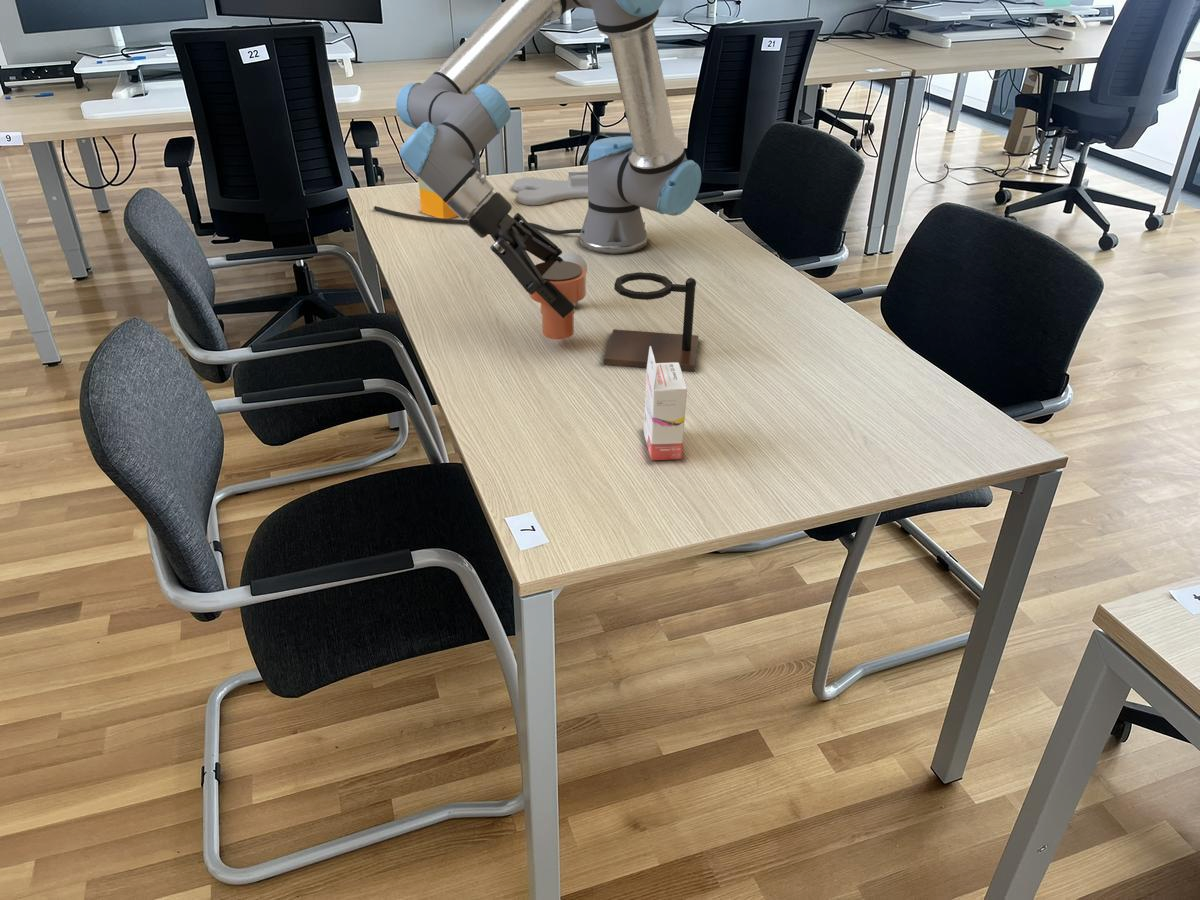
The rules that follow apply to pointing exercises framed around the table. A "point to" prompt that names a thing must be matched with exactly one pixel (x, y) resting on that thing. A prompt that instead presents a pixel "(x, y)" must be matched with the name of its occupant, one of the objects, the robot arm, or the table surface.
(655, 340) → the ring stand base
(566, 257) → the lightbulb
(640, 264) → the table surface
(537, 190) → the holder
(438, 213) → the orange juice
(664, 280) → the ring stand
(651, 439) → the ink cartridge box
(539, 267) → the terracotta pot
